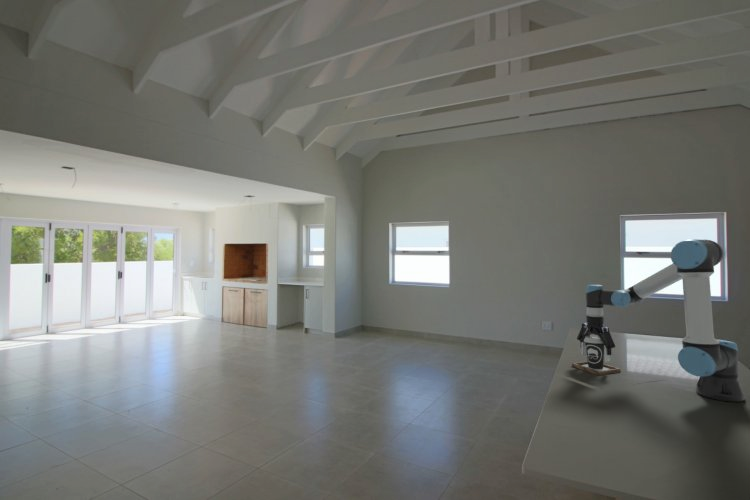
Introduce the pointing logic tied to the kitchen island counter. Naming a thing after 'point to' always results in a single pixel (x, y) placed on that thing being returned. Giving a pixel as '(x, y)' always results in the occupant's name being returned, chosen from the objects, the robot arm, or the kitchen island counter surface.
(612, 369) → the tray
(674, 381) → the kitchen island counter surface
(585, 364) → the saucer
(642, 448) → the kitchen island counter surface
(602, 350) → the coffee cup
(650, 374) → the kitchen island counter surface
